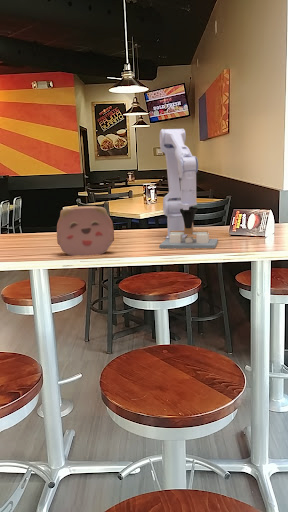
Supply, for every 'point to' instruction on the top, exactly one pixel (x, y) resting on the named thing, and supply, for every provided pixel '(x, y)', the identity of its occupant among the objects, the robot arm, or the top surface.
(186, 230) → the brown and white bar
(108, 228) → the face sculpture
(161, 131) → the robot arm
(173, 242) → the display stand
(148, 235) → the top surface
